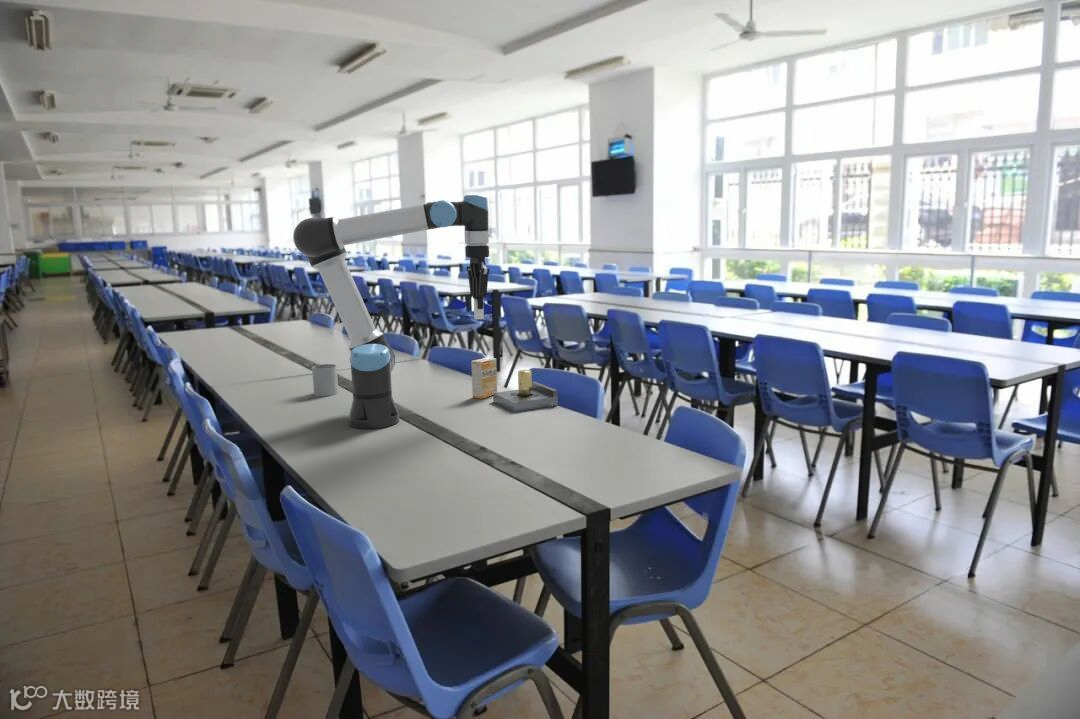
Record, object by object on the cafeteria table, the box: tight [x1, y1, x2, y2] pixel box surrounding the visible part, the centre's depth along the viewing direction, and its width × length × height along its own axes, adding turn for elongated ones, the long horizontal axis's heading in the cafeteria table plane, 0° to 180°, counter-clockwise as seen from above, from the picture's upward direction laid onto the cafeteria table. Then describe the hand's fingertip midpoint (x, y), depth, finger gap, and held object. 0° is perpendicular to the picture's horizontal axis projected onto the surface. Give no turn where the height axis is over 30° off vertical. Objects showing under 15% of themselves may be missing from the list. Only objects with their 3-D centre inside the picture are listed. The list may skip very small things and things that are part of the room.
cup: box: [311, 363, 339, 397], centre depth 269 cm, size 8×8×10 cm
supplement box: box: [471, 357, 498, 400], centre depth 260 cm, size 8×5×13 cm, turn 143°
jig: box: [492, 381, 559, 413], centre depth 249 cm, size 16×16×5 cm
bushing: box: [517, 369, 533, 397], centre depth 248 cm, size 4×4×11 cm
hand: (479, 318), depth 241 cm, fingers closed
